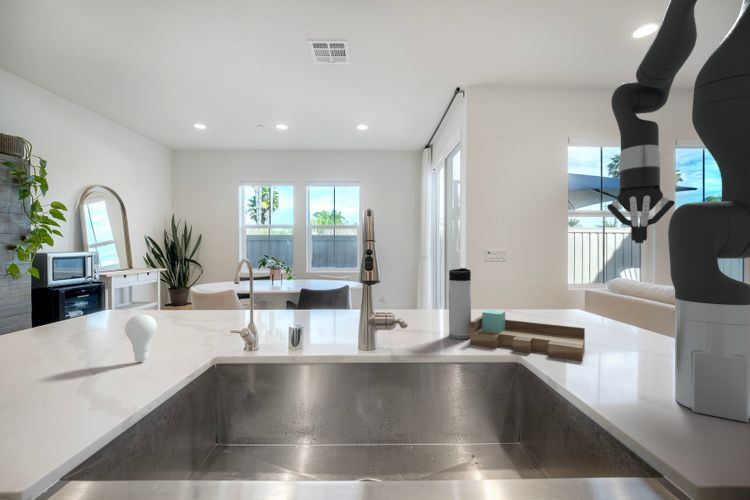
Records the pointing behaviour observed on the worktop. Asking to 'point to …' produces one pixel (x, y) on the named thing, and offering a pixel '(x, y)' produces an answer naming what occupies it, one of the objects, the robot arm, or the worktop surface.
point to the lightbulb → (141, 334)
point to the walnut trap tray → (533, 338)
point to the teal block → (493, 321)
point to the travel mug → (459, 303)
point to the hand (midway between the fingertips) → (639, 243)
